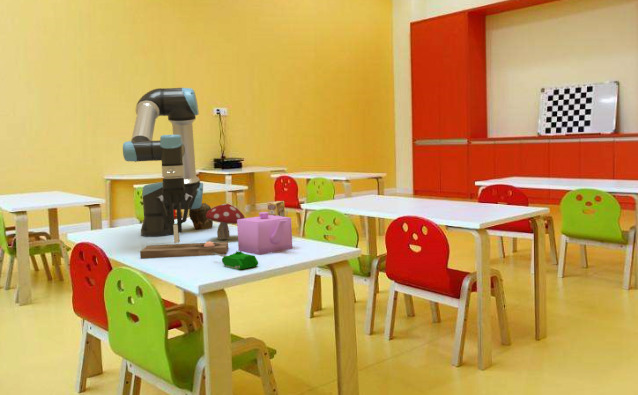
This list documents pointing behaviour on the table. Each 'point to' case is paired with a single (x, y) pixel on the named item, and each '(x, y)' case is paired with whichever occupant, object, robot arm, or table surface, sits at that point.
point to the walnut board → (183, 250)
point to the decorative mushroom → (224, 218)
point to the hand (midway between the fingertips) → (177, 241)
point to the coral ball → (209, 244)
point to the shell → (201, 217)
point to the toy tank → (238, 260)
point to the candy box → (276, 208)
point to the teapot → (264, 234)
